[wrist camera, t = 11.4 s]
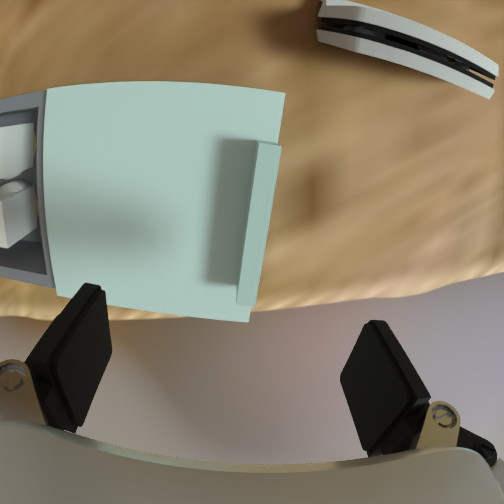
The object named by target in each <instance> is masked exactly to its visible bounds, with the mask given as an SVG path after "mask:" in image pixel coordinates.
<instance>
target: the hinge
mask: <svg viewBox="0 0 504 504" xmlns="http://www.w3.org/2000/svg"><path fill="white" fill-rule="evenodd" d="M320 1H322V5H321V8H320V11H319V14H318V17H322V20H321V21H322V22H328V23H333V24H338V25H345V27H344V29H339V28H333V27H326V26H321V28H320V30H318V29H316V32H317V39H318V41H319V42H322V43H326V44H330V45H333V46H337V47H340V48H343V49H347V50H350V51H354V52H357V53H362V54H365V55H369V56H373V57H377V58H380V59H384V60H387V61H390V62H394V63H397V64H400V65H403V66H406V67H409V68H412V69H415V70H418V71H421V72H424V73H427V74H429V75H432V76H435V77H437V78H440V79H443V80H445V81H448V82H450V83H453V84H455V85H457V86H460V87H462V88H465V89H467V90H469V91H472V92H474V93H476V94H478V95H481V96H483V97H485V98H487V99H490V98H491V96H492V95H493V93H494V91H495V89H493V85H494V84H492V83H490V82H488V81H487V80H485V79H483V78H481V77H479V76H477V75H475V74H473V73H471V72H469V69H471V70H473V71H476V72H478V73H480V74H482V75H485V76H487V77H489V78H491V79H493V80H495V77H498V68H499V65H497V64H496V63H495V62H493V61H492V60H490V59H489V58H487V57H486V56H484V55H483V54H481V53H479V52H478V51H476V50H474V49H472V48H471V47H469V46H467V45H466V44H464V43H462V42H460V41H458V40H456V39H454V38H452V37H450V36H448V35H446V34H444V33H441V32H439V31H437V30H435V29H432V28H430V27H427V26H425V25H423V24H420V23H418V22H415V21H412V20H410V19H407V18H404V17H401V16H399V15H396V14H393V13H390V12H387V11H383V10H380V9H377V8H374V7H370V6H367V5H363V4H359V3H355V2H351V1H347V0H320ZM386 34H388V35H391V36H395V37H398V38H401V39H404V40H407V41H409V42H412V43H415V44H417V45H418V50H417V49H414V48H412V47H409V46H406V45H403V44H400V43H396V42H393V41H390V40H386V39H384V38H385V35H386ZM449 57H450V58H452V59H453V62H455V64H452V63H450V62H449Z"/></svg>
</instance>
